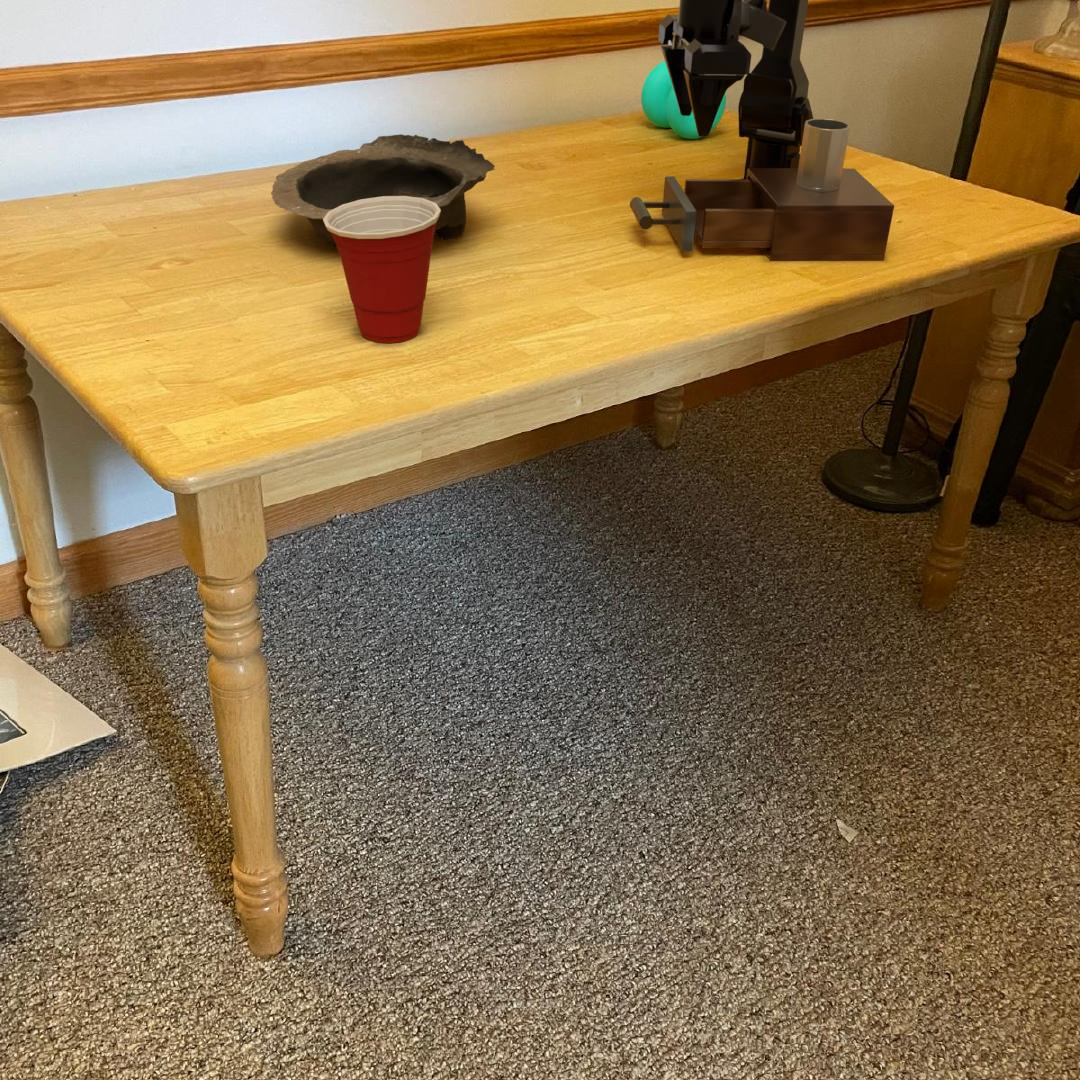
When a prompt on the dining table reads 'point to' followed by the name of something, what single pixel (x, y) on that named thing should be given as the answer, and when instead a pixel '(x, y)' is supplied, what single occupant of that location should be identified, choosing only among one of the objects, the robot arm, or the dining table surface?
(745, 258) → the dining table surface
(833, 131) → the cup
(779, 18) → the robot arm
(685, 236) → the drawer
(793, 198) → the cabinet
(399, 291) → the plastic cup
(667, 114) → the teal yo-yo
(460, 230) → the stone bowl
